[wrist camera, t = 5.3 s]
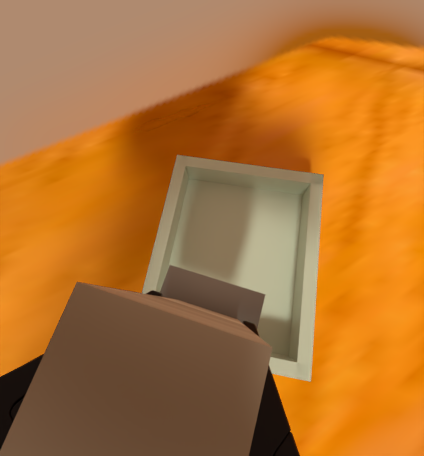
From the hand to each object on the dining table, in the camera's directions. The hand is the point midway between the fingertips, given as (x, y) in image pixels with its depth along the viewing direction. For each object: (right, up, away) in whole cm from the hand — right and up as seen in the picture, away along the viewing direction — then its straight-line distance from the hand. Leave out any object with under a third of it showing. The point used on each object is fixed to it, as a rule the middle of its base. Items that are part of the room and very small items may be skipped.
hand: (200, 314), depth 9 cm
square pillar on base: (0, -3, +6) cm, 7 cm away
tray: (+2, 0, +14) cm, 14 cm away
